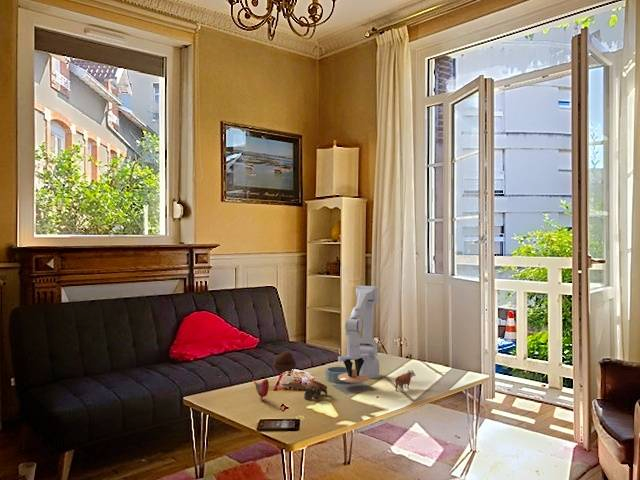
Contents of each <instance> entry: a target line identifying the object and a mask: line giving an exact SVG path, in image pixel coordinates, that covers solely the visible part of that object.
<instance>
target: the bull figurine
mask: <svg viewBox="0 0 640 480" xmlns="http://www.w3.org/2000/svg"><path fill="white" fill-rule="evenodd" d="M413 377H416V373H415V371H414V370H413V369H410V370H409V369H408V370H406V371H405V372H403V373H402V374H400V375H398V376H397V377H395V379H394V381H395V386H394V387H395V392H398V387H399V390H400V391H401V392H405V389H404V388H406V389H407V390H409V389H410V387H409V386H410V384H411V380H412V379H411V378H413Z"/></svg>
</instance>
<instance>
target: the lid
mask: <svg viewBox="0 0 640 480" xmlns="http://www.w3.org/2000/svg"><path fill="white" fill-rule="evenodd" d="M338 379H339V380H341V381H345V383H359V382H362V383H364V382H367V381H369V380H370V378H369V376H368V375H366V374H362V373H359V376H357V369H355V368H352V376H351V377H349V376H348V373H343V374H340V375H339V376H338Z"/></svg>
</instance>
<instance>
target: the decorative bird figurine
mask: <svg viewBox="0 0 640 480" xmlns="http://www.w3.org/2000/svg"><path fill="white" fill-rule="evenodd" d="M252 381H253V383H254V385H255V390H256V392H257V395H259V397H260V400H261V401H262V402H265V400H264V398H265V397H267V395H268V393H269V387H270V384H269V383H270V381H269V380H268V379H266V378H265V379H263V380H262V382H256V380H254V379H252Z"/></svg>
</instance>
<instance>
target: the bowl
mask: <svg viewBox="0 0 640 480" xmlns="http://www.w3.org/2000/svg"><path fill="white" fill-rule="evenodd" d="M343 373H347V369H346V366H337V365H335V366H329V367H326V369H325V380H326V381H327V382H329V383H334V384H335V383H336V384H345V383H346V382H345V381H341V380H339V379H338V376H339V375H340V374H343Z"/></svg>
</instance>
